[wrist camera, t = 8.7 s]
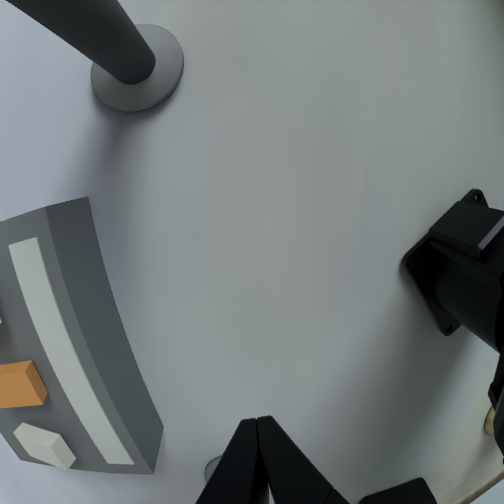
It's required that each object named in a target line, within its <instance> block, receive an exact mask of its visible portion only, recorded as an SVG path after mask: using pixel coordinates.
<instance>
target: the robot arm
mask: <svg viewBox="0 0 504 504" xmlns="http://www.w3.org/2000/svg"><path fill="white" fill-rule="evenodd" d="M475 196H477V199H476V201H475ZM412 258H414V259H415V260H414V263H413V264H410V261H411V259H412ZM403 265H404V267H405V269H406V271H407V272H408V274H409V276H410V277H411V279H412V281H413V283H414V284H415V286H416V288H417V290H418V291H419V293H420V295H421V297H422V298H423V300H424V302H425V304H426V306H427V307H428V309H429V311H430V313H431V315H432V317H433V318H434V320H435V322H436V324H437V326H438V328H439V330H440V332H441V333H442V334H444V335H445V336H449V335H451V334H452V333H453V332H454V331H455V330H456V329H457V328H458V327H459V326H460V325H461V324H462V325H463V326H465V327H466V328H467V329H469V330H470V331H471V332H472V333H474V334H475V335H476V336H478V337H479V338H480V339H482V340H483V341H484V342H485V343H487V344H488V345H489V346H490V347H492V348H493V349H494V350H496V351H497V352H498V353H499V354H500V356H499V361H498V365H497V368H496V372H495V376H494V380H493V382H492V383H491V384H490V387H489V391H488V396H489V398H490V401H491V403H492V406H493V408H494V411H495V415H494V419H493V428H494V437H495V440H496V442H497V444H498V446H499V448H500V450H501V452H502V454H503V456H504V211H502V210H497V209H493V208H489V206H488V204H487V202H486V199H485V197H484V195H483V193H482V191H481V190H479V189H472V190H470V191H469V192H468V193H467V194H466V195H465V196H464V197H463V199H462V200H461V201H457V202H456V203H455V204H454V205H453V206H452V207H451V208H450V209H449V210H448V211H447V212H446V213H445V214H444V215H443V216H442V217H441V218H440V219H439V220H438V221H437V222H436V223H435V224H434V225H433V226H432V227H431V228H430V229H429V232H428V233H427V234H426V235H425V236H424V237H423V238H422V239H421V240H420V241H419V242H418V243H417V244H416V245H415V246H413V247H412V248H411V249H410V250H409V251H408V252H407V253H406V254H405V255H404V258H403ZM448 326H449V327H448ZM447 327H448V328H447ZM503 464H504V458H503ZM268 483H269V485H268ZM269 487H270V490H271V494H272V497H273V500H274V503H275V504H350V503H349V502H348V501H347V500H346V499H345V498H343V496H342V495H341V494H340V493H339V492H338V491H337V490H336V489H334V488H333V486H332V485H331V484H330V483H329V482H328V481H327V479H326V478H325V477H324V476H323V475H322V474H321V473H320V472H319V471H318V470H317V468H316V467H315V466H314V465H313V464H312V463H311V462H310V460H309V459H308V458H307V457H306V456H305V455H304V454H303V452H302V451H301V450H300V449H299V448H298V447H297V445H296V444H295V443H294V442H293V441H292V440H291V438H290V437H289V436H288V435H287V434H286V432H285V431H284V430H283V429H282V428H281V426H280V425H279V424H278V423H277V422H276V420H275V419H274V418H273V417H272V416H270V415H268V416H262V417H258V418H257V420H256V419H255V418H250V419H243V420H241V422H240V423H239V425H238V427H237V429H236V431H235V433H234V435H233V437H232V439H231V440H230V442H229V444H228V446H227V448H226V450H225V452H224V453H223V455H222V457H221V459H220V461H219V463H218V464H217V466H216V468H215V470H214V472H213V473H212V475H211V477H210V479H209V481H208V482H207V484H206V486H205V488H204V489H203V491H202V493H201V495H200V496H199V498H198V500H197V502H196V503H195V504H269Z"/></svg>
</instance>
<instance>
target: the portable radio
mask: <svg viewBox="0 0 504 504" xmlns="http://www.w3.org/2000/svg"><path fill="white" fill-rule="evenodd" d="M359 504H437V502H436V500H435V498H434V496H433V494H432V492H431V491H430V489H429V487H428V485H427V483H426V482H425V480H424V479H423V478H417V479H415V480H412V481H410V482H407V483H405V484H402V485H400V486H397V487H394V488H391V489H389V490H386V491H383V492H380V493H377V494H374V495H370V496H367V497H365V498H364V499H363V500H362V501H361V502H360V503H359Z"/></svg>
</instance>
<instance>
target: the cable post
mask: <svg viewBox="0 0 504 504" xmlns="http://www.w3.org/2000/svg"><path fill="white" fill-rule="evenodd" d="M6 1H8V2H9V3H11V4H12V5H14V6H15V7H17V8H18V9H20V10H21V11H23V12H24V13H26V14H27V15H29V16H30V17H32V18H33V19H34V20H36V21H37V22H39V23H40V24H42V25H43V26H45V27H46V28H48V29H49V30H50V31H52V32H53V33H55V34H56V35H57V36H59V37H60V38H62V39H63V40H64V41H66V42H67V43H69V44H70V45H71V46H73V47H74V48H76V49H77V50H78V51H80V52H81V53H82V54H84V55H85V56H87V57H88V58H89V59H91V60H92V61H93V64H92V68H91V83H92V87H93V90H94V92H95V94H96V95H97V97H98V98H99V99H100V100H101V101H102V102H103V103H105V104H106V105H108V106H110V107H112V108H114V109H116V110H119V111H124V112H139V111H143V110H146V109H149V108H152V107H154V106H156V105H157V104H159V103H161V102H162V101H163V100H165V99H166V98H167V97H168V96H169V95H170V94H171V93H172V92H173V90H174V89H175V88H176V86H177V85H178V83H179V81H180V79H181V76H182V73H183V68H184V57H183V53H182V50H181V47H180V45H179V43H178V41H177V39H176V38H175V37H174V35H173V34H172V33H170V32H169V31H168V30H166V29H164V28H162V27H160V26H156V25H151V24H139V25H134V24H133V22H132V21H131V19H130V18H129V16H128V15H127V14H126V12H125V11H124V9H123V8H122V6H121V5H120V4H119V2H118V1H117V0H6Z"/></svg>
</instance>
